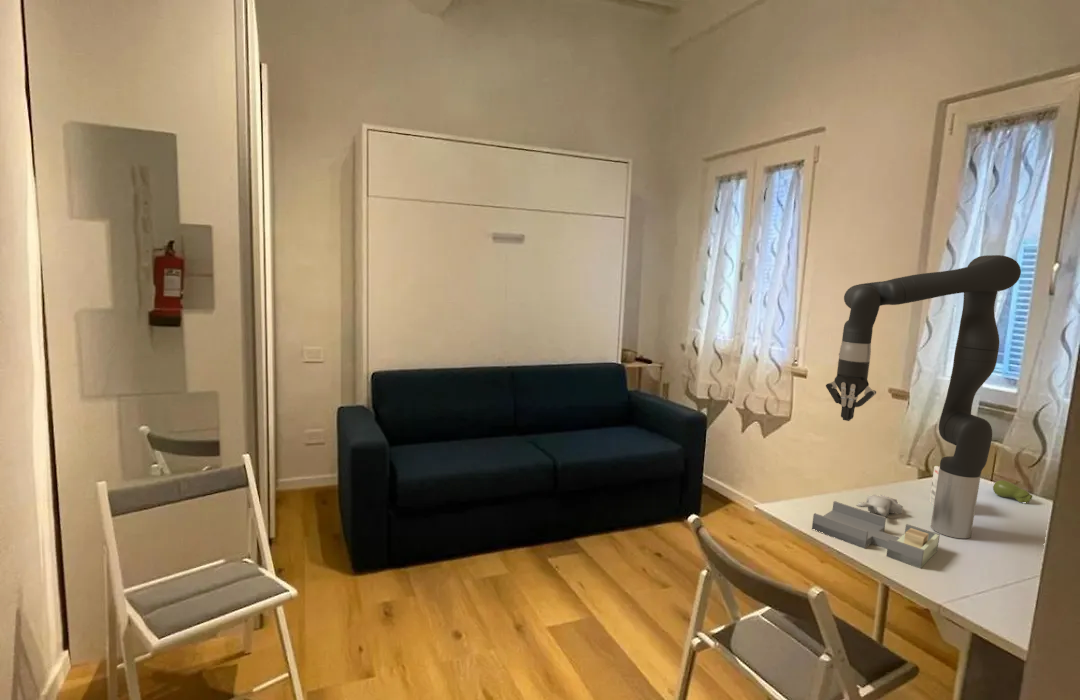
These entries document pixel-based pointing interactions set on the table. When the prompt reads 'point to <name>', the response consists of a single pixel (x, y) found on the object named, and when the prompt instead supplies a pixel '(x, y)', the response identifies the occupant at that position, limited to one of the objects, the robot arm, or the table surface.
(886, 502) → the bunny figurine
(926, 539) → the birch block
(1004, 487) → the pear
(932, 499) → the ink box
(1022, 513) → the table surface
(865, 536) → the trap box
